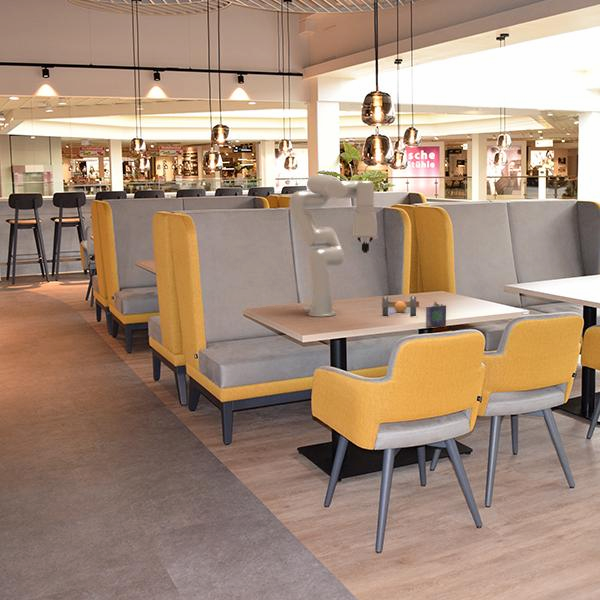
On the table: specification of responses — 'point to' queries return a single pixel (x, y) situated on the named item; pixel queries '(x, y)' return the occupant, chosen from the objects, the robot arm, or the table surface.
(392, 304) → the stopper wall
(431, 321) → the flask
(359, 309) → the table surface
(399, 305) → the ball
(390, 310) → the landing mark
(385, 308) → the post left
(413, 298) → the post right
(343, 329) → the table surface
